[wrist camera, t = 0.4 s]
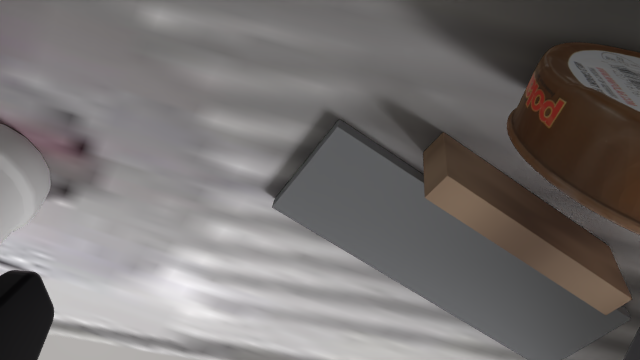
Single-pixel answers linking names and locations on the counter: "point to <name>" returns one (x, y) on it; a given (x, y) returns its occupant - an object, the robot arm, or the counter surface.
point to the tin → (585, 127)
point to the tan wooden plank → (522, 224)
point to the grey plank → (434, 249)
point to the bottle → (20, 181)
